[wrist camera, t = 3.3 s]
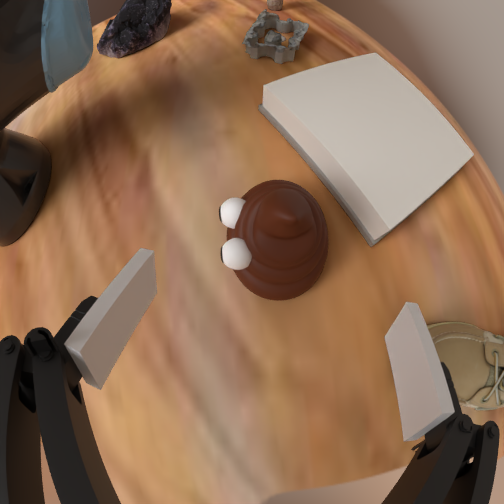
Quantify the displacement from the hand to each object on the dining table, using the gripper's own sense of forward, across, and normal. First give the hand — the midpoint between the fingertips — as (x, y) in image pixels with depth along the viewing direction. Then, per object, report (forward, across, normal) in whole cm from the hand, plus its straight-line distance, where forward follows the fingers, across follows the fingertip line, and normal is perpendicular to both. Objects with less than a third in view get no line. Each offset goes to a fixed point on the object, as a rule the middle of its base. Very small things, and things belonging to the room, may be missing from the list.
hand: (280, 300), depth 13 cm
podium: (+21, +8, +8) cm, 24 cm away
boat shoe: (+4, +25, -10) cm, 27 cm away
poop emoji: (+11, 0, -3) cm, 11 cm away
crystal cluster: (+33, -29, +19) cm, 48 cm away
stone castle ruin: (+32, -5, +18) cm, 37 cm away
